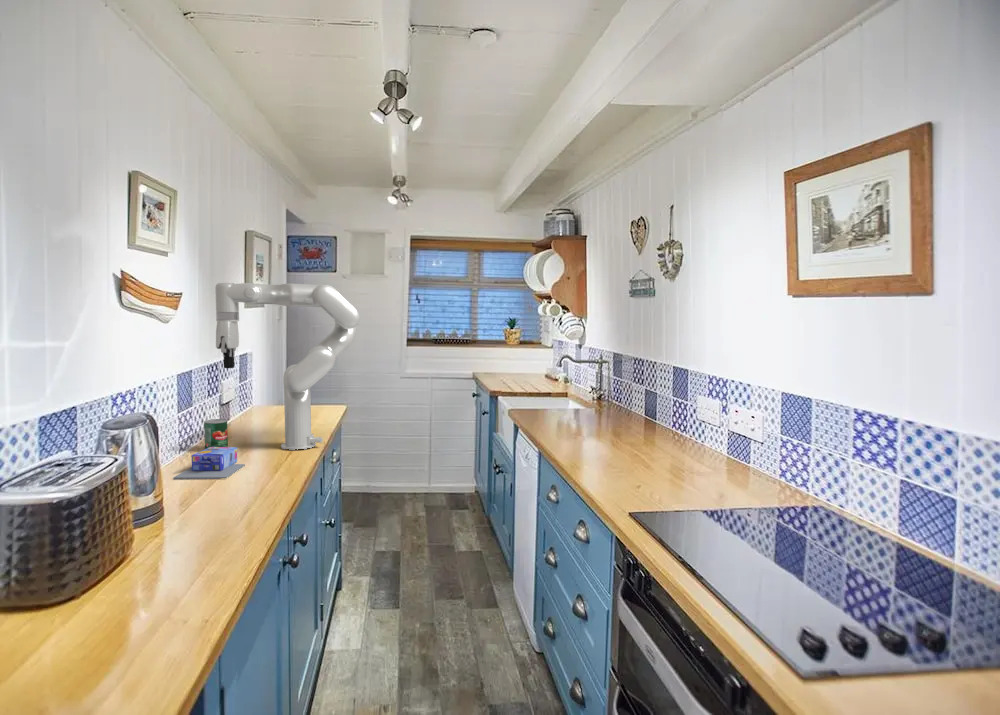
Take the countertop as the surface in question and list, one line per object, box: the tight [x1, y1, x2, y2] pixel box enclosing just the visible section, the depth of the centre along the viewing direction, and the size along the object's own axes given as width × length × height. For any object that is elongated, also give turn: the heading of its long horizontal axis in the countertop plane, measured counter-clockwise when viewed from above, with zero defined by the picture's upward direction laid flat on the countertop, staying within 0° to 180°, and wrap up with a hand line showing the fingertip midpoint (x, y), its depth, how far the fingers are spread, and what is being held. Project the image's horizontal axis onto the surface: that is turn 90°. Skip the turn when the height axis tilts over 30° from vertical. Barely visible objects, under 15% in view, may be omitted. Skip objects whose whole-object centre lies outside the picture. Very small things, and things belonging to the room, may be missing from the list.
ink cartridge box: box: [191, 446, 238, 471], centre depth 202 cm, size 10×6×14 cm
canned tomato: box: [203, 418, 229, 450], centre depth 229 cm, size 8×8×11 cm
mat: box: [172, 463, 246, 480], centre depth 198 cm, size 16×16×1 cm
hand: (229, 367), depth 224 cm, fingers closed
